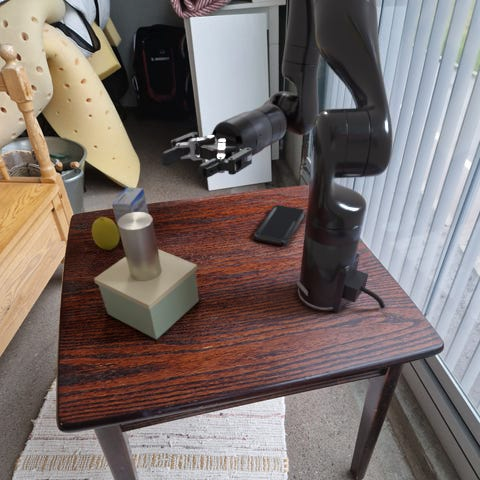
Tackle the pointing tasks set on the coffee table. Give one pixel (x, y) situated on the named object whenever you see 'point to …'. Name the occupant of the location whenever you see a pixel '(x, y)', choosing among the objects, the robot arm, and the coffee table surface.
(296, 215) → the phone
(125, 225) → the tea tin
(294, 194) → the coffee table surface
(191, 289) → the storage box
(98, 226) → the lemon
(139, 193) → the medicine box
